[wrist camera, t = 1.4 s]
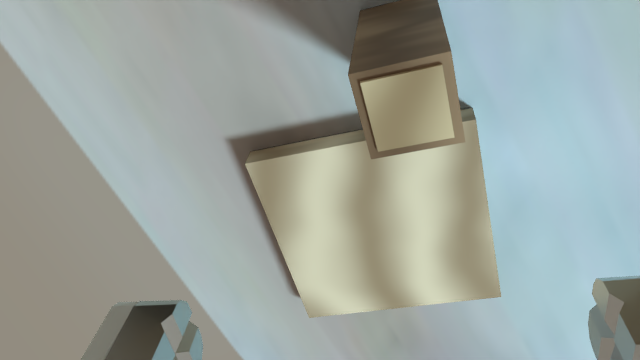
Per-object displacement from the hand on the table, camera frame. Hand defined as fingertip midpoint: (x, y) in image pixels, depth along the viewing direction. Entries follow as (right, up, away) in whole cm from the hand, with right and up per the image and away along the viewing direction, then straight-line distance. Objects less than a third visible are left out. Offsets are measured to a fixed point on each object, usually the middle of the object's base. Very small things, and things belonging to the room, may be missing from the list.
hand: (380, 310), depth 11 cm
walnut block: (+3, +10, +18) cm, 21 cm away
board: (+3, 0, +25) cm, 25 cm away
